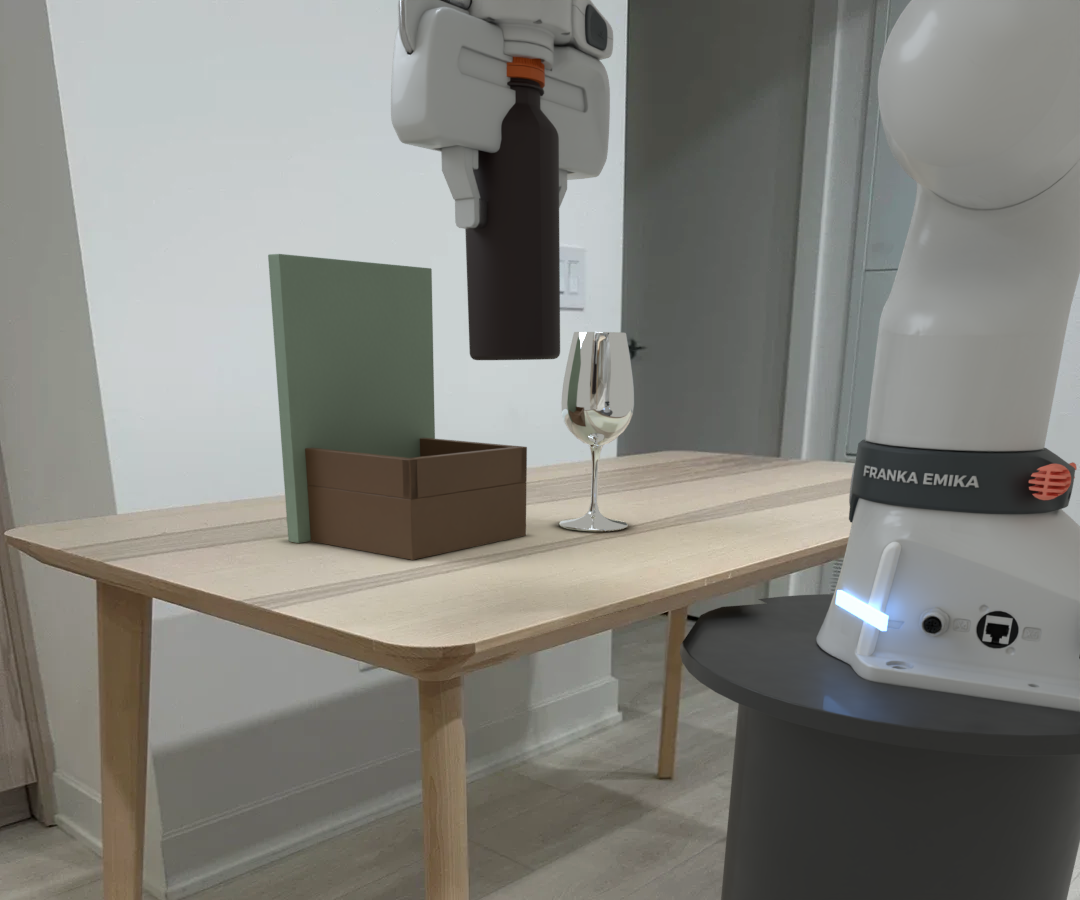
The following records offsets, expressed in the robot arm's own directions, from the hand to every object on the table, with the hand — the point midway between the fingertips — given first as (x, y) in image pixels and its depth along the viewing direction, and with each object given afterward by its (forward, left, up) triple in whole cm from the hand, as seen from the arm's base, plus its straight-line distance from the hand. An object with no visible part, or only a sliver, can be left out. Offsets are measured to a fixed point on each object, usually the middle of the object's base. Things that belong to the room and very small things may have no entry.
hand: (508, 234), depth 73 cm
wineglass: (+12, -30, -26) cm, 42 cm away
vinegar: (-1, 0, -9) cm, 9 cm away
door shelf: (+21, -12, -26) cm, 36 cm away
